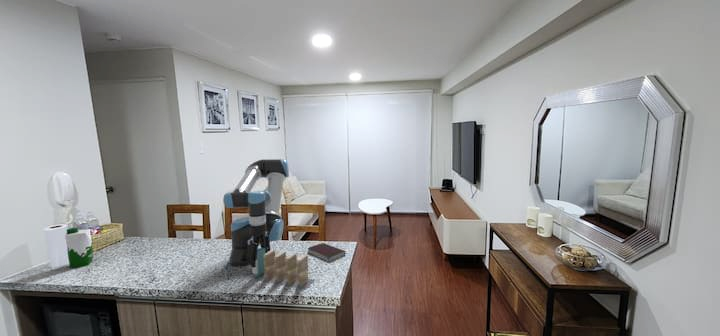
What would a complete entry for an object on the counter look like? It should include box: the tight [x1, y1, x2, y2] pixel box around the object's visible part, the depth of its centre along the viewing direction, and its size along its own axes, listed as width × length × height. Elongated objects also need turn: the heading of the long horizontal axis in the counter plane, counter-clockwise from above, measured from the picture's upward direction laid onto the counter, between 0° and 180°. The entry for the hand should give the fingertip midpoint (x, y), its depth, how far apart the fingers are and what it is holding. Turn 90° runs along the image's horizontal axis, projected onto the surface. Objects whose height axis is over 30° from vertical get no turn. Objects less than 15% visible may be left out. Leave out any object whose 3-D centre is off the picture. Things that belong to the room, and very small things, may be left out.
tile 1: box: [297, 254, 309, 287], centre depth 127 cm, size 2×6×12 cm, turn 160°
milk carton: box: [64, 227, 94, 269], centre depth 149 cm, size 9×9×20 cm
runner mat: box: [249, 273, 316, 291], centre depth 131 cm, size 31×9×1 cm, turn 70°
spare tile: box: [253, 247, 265, 277], centre depth 135 cm, size 2×6×12 cm, turn 160°
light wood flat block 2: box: [285, 252, 298, 284], centre depth 129 cm, size 2×6×12 cm, turn 160°
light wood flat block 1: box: [264, 249, 276, 280], centre depth 133 cm, size 2×6×12 cm, turn 160°
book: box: [307, 242, 346, 263], centre depth 161 cm, size 12×19×3 cm, turn 48°
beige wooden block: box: [274, 251, 287, 282], centre depth 131 cm, size 2×6×12 cm, turn 160°
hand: (260, 269), depth 135 cm, fingers open, 6 cm apart
